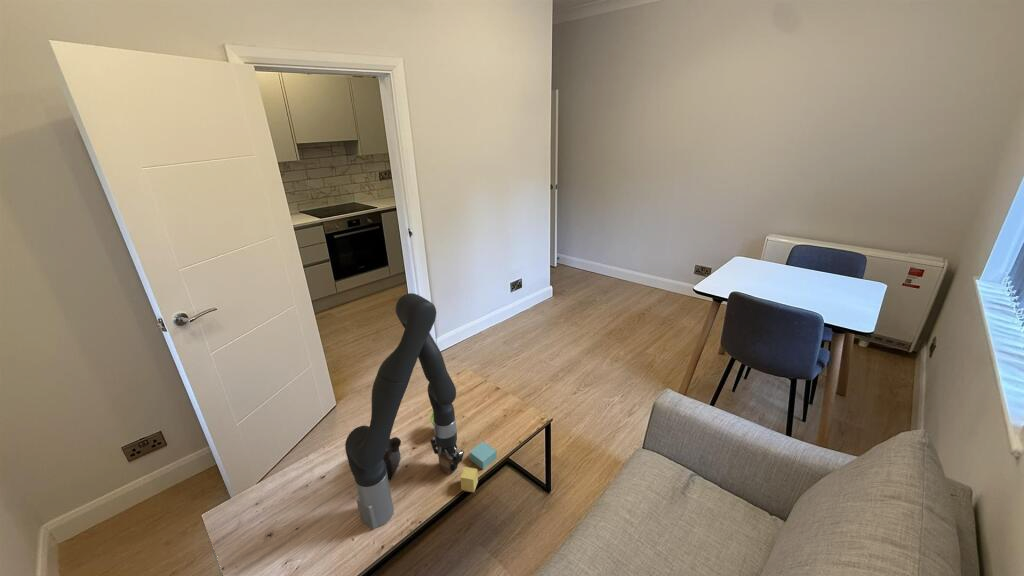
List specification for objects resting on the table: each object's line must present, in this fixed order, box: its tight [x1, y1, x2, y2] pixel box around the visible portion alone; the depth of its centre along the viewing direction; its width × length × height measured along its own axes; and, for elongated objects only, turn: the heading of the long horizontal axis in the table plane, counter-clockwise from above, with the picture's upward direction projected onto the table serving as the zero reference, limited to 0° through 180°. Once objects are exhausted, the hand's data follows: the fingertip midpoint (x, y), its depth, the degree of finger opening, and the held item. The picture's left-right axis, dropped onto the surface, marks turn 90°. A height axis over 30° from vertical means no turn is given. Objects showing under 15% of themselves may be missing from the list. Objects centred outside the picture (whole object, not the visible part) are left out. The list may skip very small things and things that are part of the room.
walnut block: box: [438, 453, 459, 475], centre depth 146 cm, size 4×4×6 cm
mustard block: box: [460, 466, 479, 493], centre depth 139 cm, size 4×4×6 cm
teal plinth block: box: [469, 441, 498, 471], centre depth 151 cm, size 7×7×4 cm
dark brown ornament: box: [383, 436, 402, 481], centre depth 144 cm, size 16×11×18 cm
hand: (448, 466), depth 147 cm, fingers closed on walnut block, 4 cm apart
